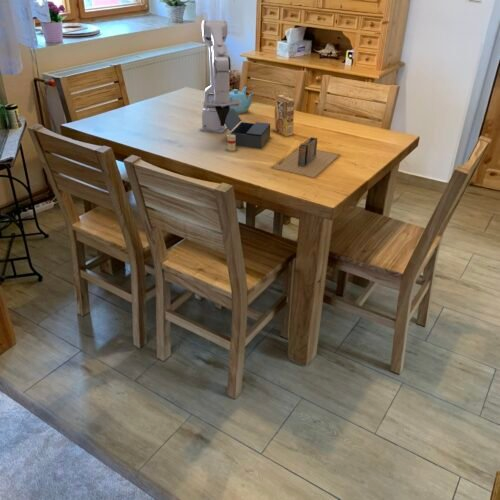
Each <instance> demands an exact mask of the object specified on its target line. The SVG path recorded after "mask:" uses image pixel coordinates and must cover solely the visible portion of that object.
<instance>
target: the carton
mask: <svg viewBox="0 0 500 500" xmlns="http://www.w3.org/2000/svg"><path fill="white" fill-rule="evenodd" d="M230 134H233V135H235V136H236V147H244V148H253V149H262V148H263V147H264V145H265V144H266V143H267V142H268V140H269V139H270V138H271V123H269V122H259V121H255V123H253V122H247V121H246V122H245V121H240V122H239V123H238V124H237V125H236V126H235V127H234V128H233V129H232V130H231V131H230Z"/></svg>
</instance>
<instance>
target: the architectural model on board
mask: <svg viewBox="0 0 500 500" xmlns="http://www.w3.org/2000/svg"><path fill="white" fill-rule="evenodd" d="M318 140H319V138H318V137H314V136H310V137H309V138H308V139H306V140H305V141H304V142H302V143H300V145H299V146H298V149H296V150H295V151H294V152H292V153H291V154H290V155H289V156H287V157H286V158H285V159H283V160H282V161H280V162H279V163H278V164H276V165H275V166H274V167H273V169H275V170H280V171H284V172H285V171H286V172H290V173H293V174H297V175H302V176H307V177H311V178H316V176H317V175H319V174H320V173H321V172H322V171H324V169H326V167H328V166H329V165H330V164H331V163H332V162H333V161H334V160H335V159H336V158H338V157H339V156H340V155H339V154H334V153H330V152H326V151H320V150H317V149H318Z"/></svg>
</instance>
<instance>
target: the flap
mask: <svg viewBox="0 0 500 500" xmlns="http://www.w3.org/2000/svg"><path fill="white" fill-rule="evenodd" d="M241 122H242V118H241V117H240V116H239V114H237V113H236V112H235V110H234V109H233V108H232V109H231V110H230V111H229V113H228V115H227V117H226V120H225V126H227V128H226V129H228V130H229V132H232V131H233V130H234V129H235V128H236V127H237V126H238V125H239V124H240V123H241Z"/></svg>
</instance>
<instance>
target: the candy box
mask: <svg viewBox="0 0 500 500" xmlns="http://www.w3.org/2000/svg"><path fill="white" fill-rule="evenodd" d="M295 100H296V99H294V98H291V97H289V96H287V95H284V94H280V95H275V97H274V123H273V124H274V127H273V131H275V132H276V133H279V134H281V135H283V136H286V137H287V136H293V134H294V121H295V119H294V118H295V102H296V101H295Z"/></svg>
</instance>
